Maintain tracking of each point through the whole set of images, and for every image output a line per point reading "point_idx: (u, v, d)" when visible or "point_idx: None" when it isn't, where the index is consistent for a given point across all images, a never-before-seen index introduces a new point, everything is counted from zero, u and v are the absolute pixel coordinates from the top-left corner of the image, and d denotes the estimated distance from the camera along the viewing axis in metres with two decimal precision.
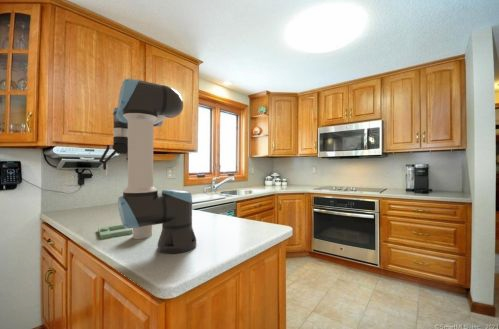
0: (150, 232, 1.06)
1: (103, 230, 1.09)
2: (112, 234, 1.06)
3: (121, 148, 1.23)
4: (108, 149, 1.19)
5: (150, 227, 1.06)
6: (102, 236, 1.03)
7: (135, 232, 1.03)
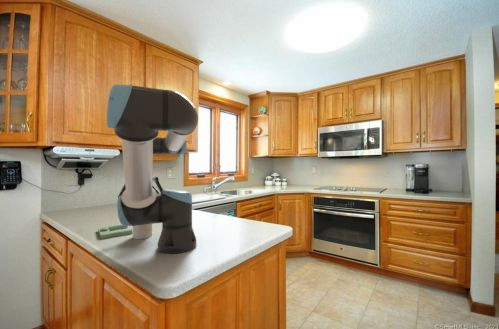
0: (150, 232, 1.06)
1: (103, 230, 1.09)
2: (112, 234, 1.06)
3: None
4: None
5: (150, 227, 1.06)
6: (102, 236, 1.03)
7: (135, 232, 1.03)
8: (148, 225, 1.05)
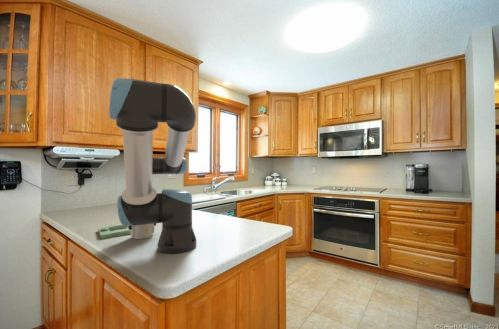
0: (150, 232, 1.06)
1: (103, 230, 1.09)
2: (112, 234, 1.06)
3: None
4: None
5: (150, 227, 1.06)
6: (102, 236, 1.03)
7: (135, 232, 1.03)
8: (148, 225, 1.05)
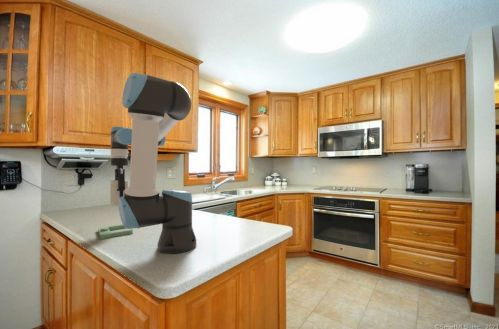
0: (113, 201, 1.10)
1: (103, 230, 1.09)
2: (112, 234, 1.06)
3: None
4: None
5: (113, 196, 1.10)
6: (102, 236, 1.03)
7: None
8: (111, 194, 1.11)
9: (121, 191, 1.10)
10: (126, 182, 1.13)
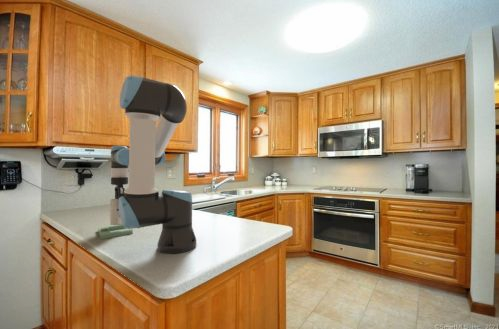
0: (113, 221, 1.10)
1: (103, 230, 1.09)
2: (112, 234, 1.06)
3: None
4: None
5: (113, 216, 1.10)
6: (102, 236, 1.03)
7: None
8: (111, 213, 1.11)
9: None
10: None
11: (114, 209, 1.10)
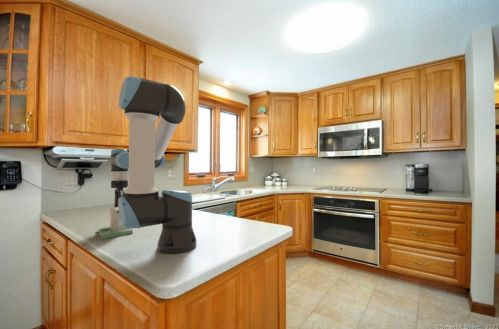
0: (114, 230, 1.10)
1: (103, 230, 1.09)
2: (112, 234, 1.06)
3: None
4: None
5: (113, 225, 1.10)
6: (102, 236, 1.03)
7: None
8: (111, 222, 1.11)
9: None
10: None
11: (114, 218, 1.10)
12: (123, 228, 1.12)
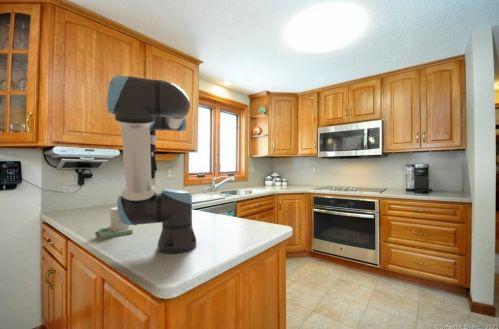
0: (114, 230, 1.10)
1: (103, 230, 1.09)
2: (112, 234, 1.06)
3: None
4: None
5: (113, 225, 1.10)
6: (102, 236, 1.03)
7: None
8: (111, 222, 1.11)
9: (153, 172, 1.12)
10: None
11: (114, 218, 1.10)
12: (123, 228, 1.12)
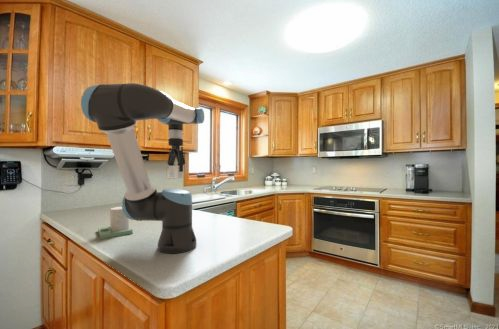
0: (114, 230, 1.10)
1: (103, 230, 1.09)
2: (112, 234, 1.06)
3: None
4: (169, 152, 1.27)
5: (113, 225, 1.10)
6: (102, 236, 1.03)
7: None
8: (111, 222, 1.11)
9: (181, 166, 1.16)
10: None
11: (114, 218, 1.10)
12: (123, 228, 1.12)
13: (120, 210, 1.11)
